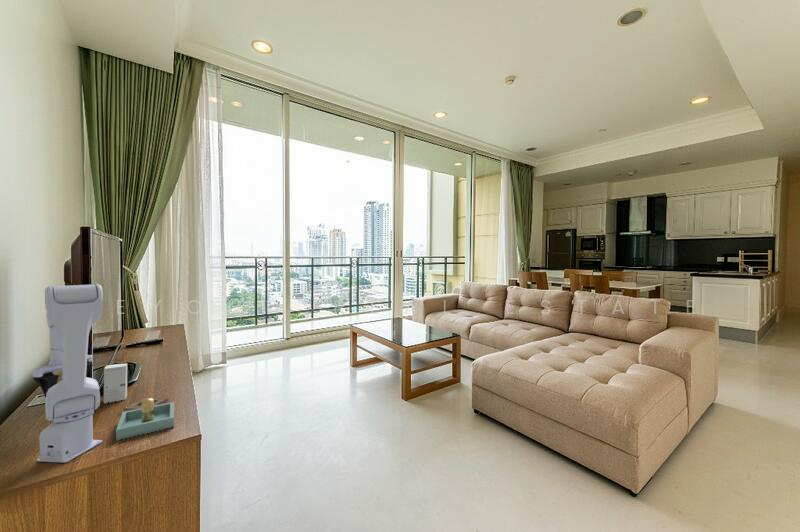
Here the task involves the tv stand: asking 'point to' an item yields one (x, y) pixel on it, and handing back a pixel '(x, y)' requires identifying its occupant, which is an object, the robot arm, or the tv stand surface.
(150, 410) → the pin
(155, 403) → the collar
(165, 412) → the tray
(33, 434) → the tv stand surface
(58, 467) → the tv stand surface
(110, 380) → the skincare box
